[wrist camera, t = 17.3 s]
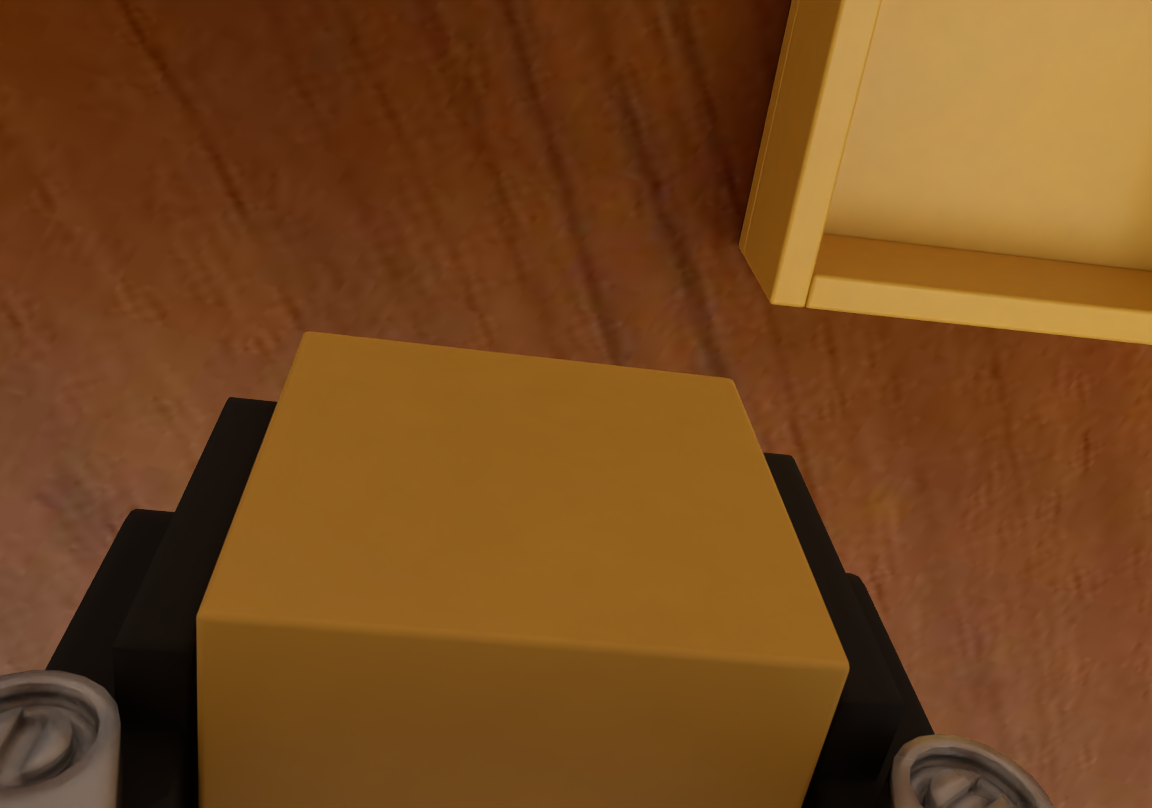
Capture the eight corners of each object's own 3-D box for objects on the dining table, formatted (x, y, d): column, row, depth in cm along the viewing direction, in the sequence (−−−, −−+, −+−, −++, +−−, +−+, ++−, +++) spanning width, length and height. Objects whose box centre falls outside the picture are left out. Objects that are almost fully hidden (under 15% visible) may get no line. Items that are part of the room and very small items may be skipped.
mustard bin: (737, 247, 26) (769, 305, 23) (859, -318, 21) (922, -343, 18) (1179, 297, 28) (1267, 358, 25) (1400, -223, 22) (1547, -230, 19)
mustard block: (288, 666, 13) (198, 1035, 9) (303, 327, 11) (194, 614, 7) (655, 694, 14) (718, 1050, 10) (734, 376, 12) (854, 666, 8)
